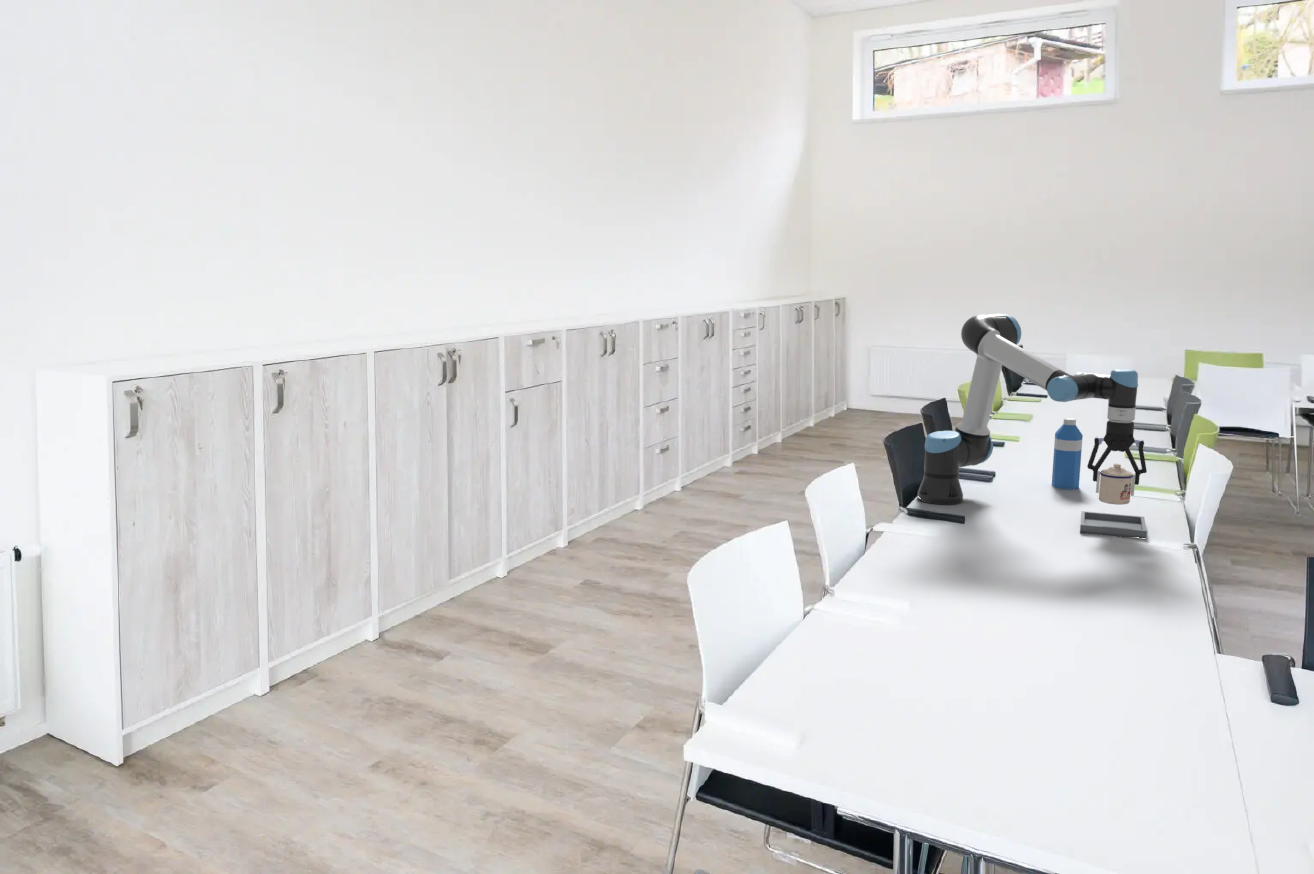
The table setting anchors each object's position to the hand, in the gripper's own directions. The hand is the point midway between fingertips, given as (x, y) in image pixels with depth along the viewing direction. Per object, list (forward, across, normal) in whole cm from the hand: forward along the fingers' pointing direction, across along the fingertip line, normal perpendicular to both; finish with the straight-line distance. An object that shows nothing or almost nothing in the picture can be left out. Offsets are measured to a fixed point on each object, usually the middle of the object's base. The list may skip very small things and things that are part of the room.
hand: (1114, 493), depth 299 cm
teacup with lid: (+2, 0, 0) cm, 2 cm away
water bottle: (+12, -15, +57) cm, 60 cm away
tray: (+11, 0, 0) cm, 11 cm away
